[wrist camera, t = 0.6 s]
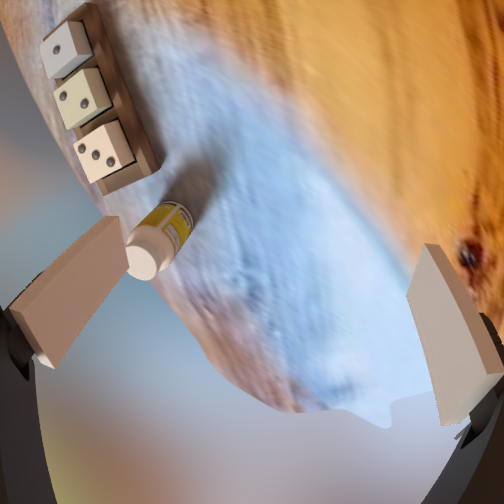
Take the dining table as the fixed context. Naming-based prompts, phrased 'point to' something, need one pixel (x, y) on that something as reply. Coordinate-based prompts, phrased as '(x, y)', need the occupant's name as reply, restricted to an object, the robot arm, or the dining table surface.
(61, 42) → the tile one
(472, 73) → the dining table surface
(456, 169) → the dining table surface
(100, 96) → the tile two
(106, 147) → the tile three
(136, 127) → the tile tray
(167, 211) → the pill bottle
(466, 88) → the dining table surface
